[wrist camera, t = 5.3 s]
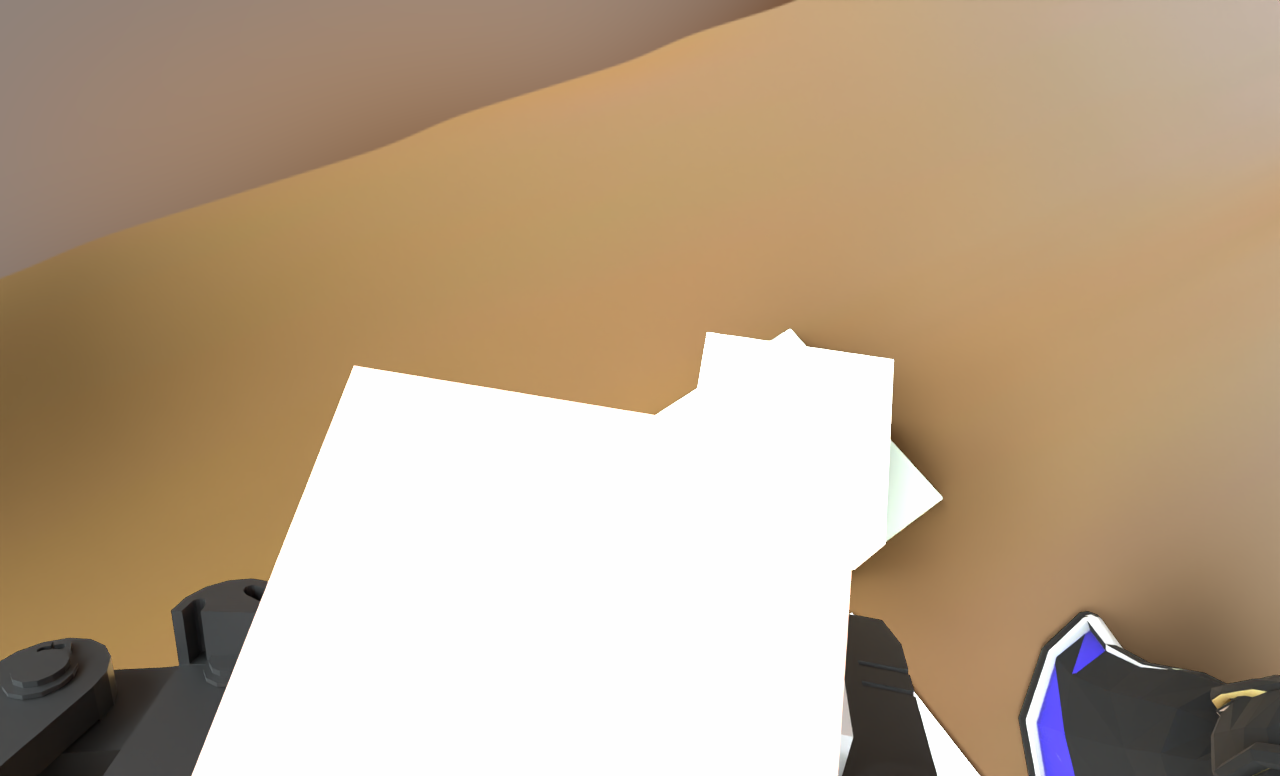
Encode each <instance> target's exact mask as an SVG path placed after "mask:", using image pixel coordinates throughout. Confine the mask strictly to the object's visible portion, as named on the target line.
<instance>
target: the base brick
mask: <svg viewBox="0 0 1280 776" xmlns="http://www.w3.org/2000/svg"><path fill="white" fill-rule="evenodd" d="M893 368H894V359H888V358H881V357H874V356H867V355H860V354H853V353H847V352H840V351H833V350H826V349H819V348H812V347H806V346H799V345H792V344H785V343H778V342H772V341H765V340H758V339H751V338H744V337H737V336H731V335H724V334H717V333H710V332H707V335H706V341H705V347H704V352H703V358H702V364H701V370H700V375H699V381H698V387H697V393H696V399H695V404H694V410H693V416H692V421H693V422H699V423H705V424H711V425H717V426H723V427H730V428H736V429H742V430H748V431H754V432H760V433H766V434H772V435H778V436H784V437H790V438H796V439H802V440H809V441H815V442H821V443H827V444H833V445H839V446H845V447H851V448H857V449H860V452H859V467H858V482H857V497H856V512H855V527H854V542H853V557H852V570H855V569H856V568H857V567H858V566H860V565H861V564H862V563H863V562H865V561H866V560H867V559H868V558H869V557H871V556H872V555H873V554H874V553H876V552H877V551H878V550H879V549H880V548H882V547H883V546H884V545H885V539H886V517H887V496H888V475H889V453H890V432H891V411H892V390H893Z"/></svg>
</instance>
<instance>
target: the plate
mask: <svg viewBox="0 0 1280 776" xmlns="http://www.w3.org/2000/svg"><path fill="white" fill-rule="evenodd" d="M771 341H772V342H778V343H785V344H792V345H799V346H806V345H805V344H804V343H803V342H802V341H801V340H800V339H799V338H798V336H797V335H796V334H795V333H794V332H793V331H792V330H791V329H788V330H787V331H785V332H784V333H782V334H781V335H779V336H777V337H776V338H774V339H773V340H771ZM806 347H807V346H806ZM696 393H697V389H695V390H694V391H692V392H691V393H689V394H688V395H686V396H684V397H683V398H681V399H680V400H678V401H677V402H675V403H674V404H672V405H670V406H669V407H667V408H666V409H664V410H663V411H661V412H660V413H658V414H657V416H663V417H669V418H675V419H681V420H687V421H692V416H693V410H694V404H695V399H696ZM942 499H943V497H942V496H941V495H940V494H939V493H938V492H937V491H936V489H935V488H934V487H933V486H932V485H931V484H930V483H929V482H928V481H927V479H926V478H925V477H924V476H923V475H922V474H921V473H920V472H919V471H918V469H917V468H916V467H915V466H914V465H913V464H912V463H911V462H910V461H909V460H908V458H907V457H906V456H905V455H904V454H903V453H902V452H901V451H900V450H899V448H898V447H897V446H896V445H895V444H894V443H893V442H892V441H891V440H890V453H889V475H888V496H887V517H886V539H885V542H887V541H888V540H889V539H891V538H892V537H893V536H895V535H896V534H897V533H899V532H900V531H901V530H903V529H904V528H905V527H907V526H908V525H909V524H910V523H912V522H913V521H914V520H916V519H917V518H918V517H920V516H921V515H922V514H924V513H925V512H926V511H928V510H929V509H930V508H932V507H933V506H934V505H936V504H937V503H938V502H939V501H941V500H942Z"/></svg>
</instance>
